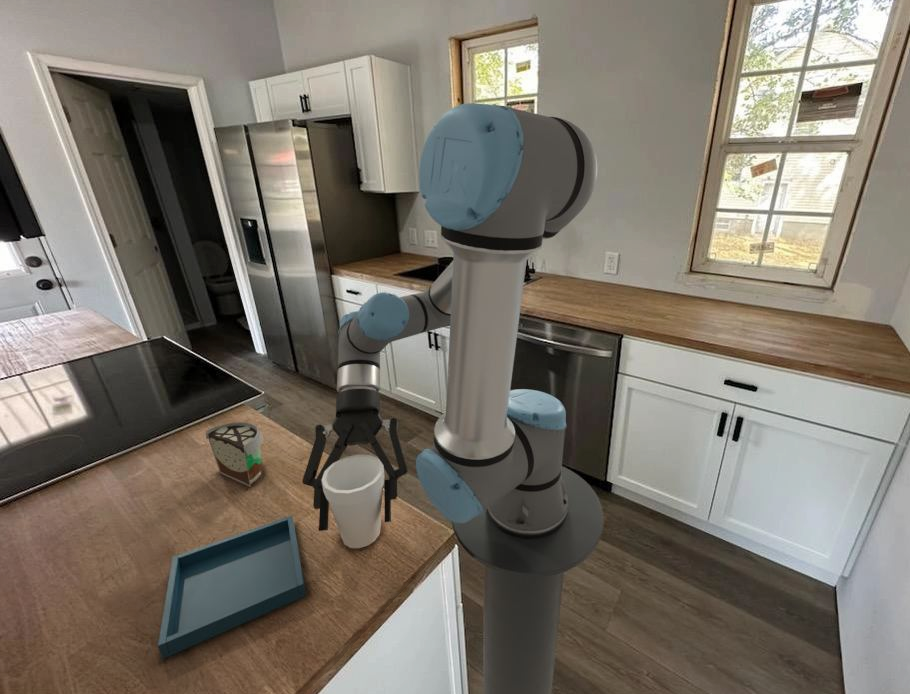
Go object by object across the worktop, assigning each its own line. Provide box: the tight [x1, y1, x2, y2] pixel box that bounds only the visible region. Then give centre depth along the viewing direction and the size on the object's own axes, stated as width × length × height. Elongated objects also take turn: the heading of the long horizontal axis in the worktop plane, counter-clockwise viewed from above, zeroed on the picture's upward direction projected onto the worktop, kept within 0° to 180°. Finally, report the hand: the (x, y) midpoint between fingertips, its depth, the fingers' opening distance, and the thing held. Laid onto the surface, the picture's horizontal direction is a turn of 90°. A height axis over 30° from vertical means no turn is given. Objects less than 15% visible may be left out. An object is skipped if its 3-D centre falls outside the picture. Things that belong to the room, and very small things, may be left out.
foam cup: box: [322, 454, 386, 549], centre depth 69 cm, size 10×9×13 cm
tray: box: [157, 514, 307, 660], centre depth 62 cm, size 17×15×2 cm
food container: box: [205, 421, 264, 488], centre depth 83 cm, size 12×6×10 cm, turn 66°
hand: (356, 526), depth 67 cm, fingers closed on foam cup, 9 cm apart
